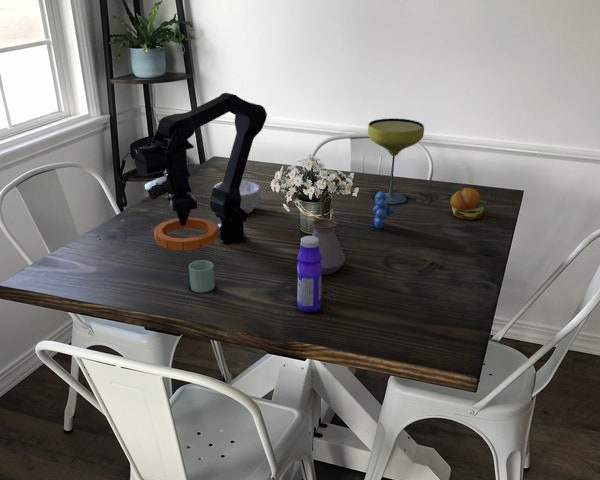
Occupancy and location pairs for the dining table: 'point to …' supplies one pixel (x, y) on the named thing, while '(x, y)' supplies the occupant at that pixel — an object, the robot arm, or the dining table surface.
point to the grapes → (381, 210)
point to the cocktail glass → (395, 143)
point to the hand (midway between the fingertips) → (182, 223)
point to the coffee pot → (328, 242)
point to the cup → (201, 276)
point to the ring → (186, 242)
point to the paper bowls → (248, 195)
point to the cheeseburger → (467, 204)
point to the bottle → (309, 275)
